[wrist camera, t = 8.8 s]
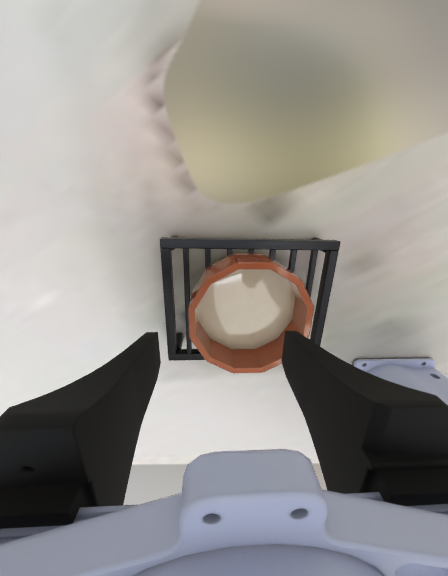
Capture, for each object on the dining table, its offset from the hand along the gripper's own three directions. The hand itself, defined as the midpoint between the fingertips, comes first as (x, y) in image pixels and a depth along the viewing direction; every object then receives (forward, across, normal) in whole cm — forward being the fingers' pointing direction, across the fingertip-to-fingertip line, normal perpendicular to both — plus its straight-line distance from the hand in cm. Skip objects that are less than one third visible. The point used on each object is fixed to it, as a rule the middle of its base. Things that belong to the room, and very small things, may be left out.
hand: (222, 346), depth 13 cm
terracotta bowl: (+7, -2, 0) cm, 7 cm away
